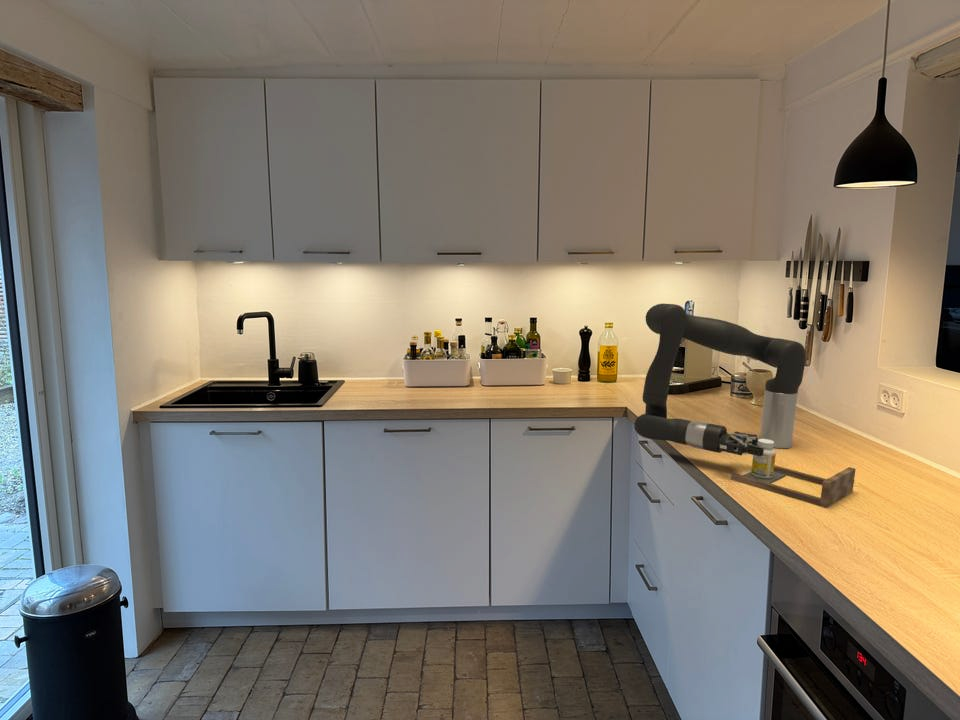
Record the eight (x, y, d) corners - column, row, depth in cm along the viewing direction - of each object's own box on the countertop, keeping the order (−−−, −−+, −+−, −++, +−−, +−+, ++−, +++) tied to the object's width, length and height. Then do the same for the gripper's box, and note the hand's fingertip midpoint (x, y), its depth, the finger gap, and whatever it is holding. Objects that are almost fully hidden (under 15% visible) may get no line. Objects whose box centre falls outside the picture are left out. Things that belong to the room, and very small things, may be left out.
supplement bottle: (757, 479, 162) (761, 443, 160) (747, 472, 167) (750, 437, 166) (777, 479, 162) (781, 443, 161) (766, 472, 168) (769, 437, 166)
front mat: (759, 469, 171) (759, 467, 171) (785, 476, 166) (785, 474, 166) (738, 478, 163) (739, 476, 163) (765, 485, 158) (765, 484, 158)
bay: (760, 466, 174) (762, 445, 173) (852, 491, 156) (855, 468, 155) (730, 479, 163) (732, 457, 162) (826, 507, 145) (829, 483, 144)
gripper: (698, 428, 167) (761, 440, 157) (715, 418, 178) (776, 429, 168) (695, 455, 168) (758, 469, 158) (713, 443, 179) (773, 456, 169)
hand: (767, 448), depth 163 cm, fingers open, 8 cm apart
